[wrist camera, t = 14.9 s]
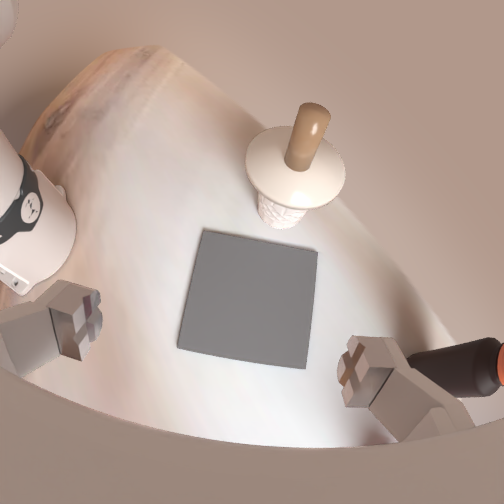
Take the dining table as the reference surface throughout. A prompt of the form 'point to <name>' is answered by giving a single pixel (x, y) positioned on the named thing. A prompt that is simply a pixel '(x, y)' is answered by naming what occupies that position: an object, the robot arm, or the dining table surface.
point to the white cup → (278, 214)
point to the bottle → (464, 367)
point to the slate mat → (250, 301)
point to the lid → (296, 162)
